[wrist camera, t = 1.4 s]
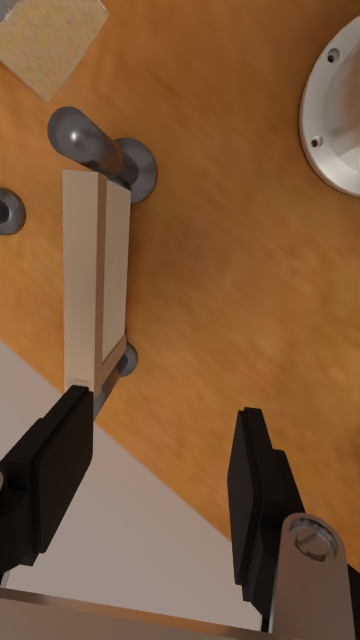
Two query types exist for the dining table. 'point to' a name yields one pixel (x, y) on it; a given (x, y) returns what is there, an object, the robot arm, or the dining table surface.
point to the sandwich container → (47, 39)
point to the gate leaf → (94, 276)
